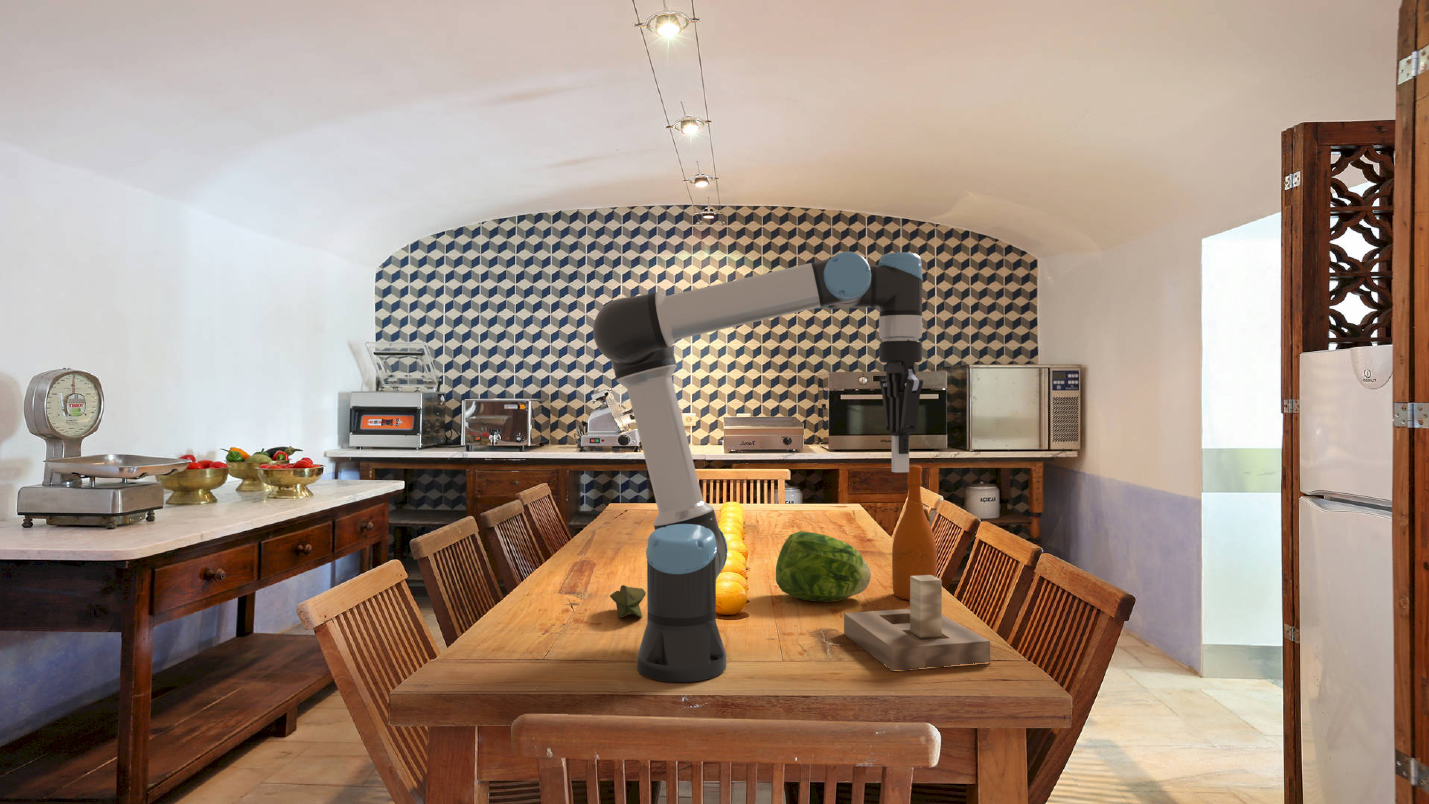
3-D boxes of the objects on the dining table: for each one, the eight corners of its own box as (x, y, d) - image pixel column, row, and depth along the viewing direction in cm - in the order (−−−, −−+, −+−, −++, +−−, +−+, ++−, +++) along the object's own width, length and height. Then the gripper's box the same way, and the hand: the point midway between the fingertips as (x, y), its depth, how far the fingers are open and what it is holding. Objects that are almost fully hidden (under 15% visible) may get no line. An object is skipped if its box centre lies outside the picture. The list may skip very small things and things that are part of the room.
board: (892, 672, 137) (892, 648, 137) (843, 633, 159) (844, 613, 159) (990, 664, 141) (990, 641, 141) (929, 627, 163) (929, 607, 163)
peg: (920, 661, 143) (920, 581, 142) (909, 654, 147) (909, 575, 146) (941, 659, 143) (942, 580, 143) (930, 652, 147) (931, 574, 147)
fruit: (665, 614, 173) (665, 583, 173) (629, 628, 163) (629, 595, 163) (623, 606, 179) (623, 576, 179) (586, 619, 169) (586, 587, 169)
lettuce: (867, 623, 175) (887, 554, 177) (774, 592, 175) (795, 523, 177) (850, 613, 191) (869, 550, 193) (765, 585, 191) (785, 522, 193)
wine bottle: (937, 603, 181) (938, 467, 180) (892, 601, 183) (892, 466, 182) (935, 592, 191) (935, 463, 190) (891, 590, 193) (892, 462, 192)
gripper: (937, 338, 142) (936, 475, 142) (903, 342, 155) (903, 468, 155) (896, 338, 140) (896, 476, 141) (866, 342, 153) (866, 468, 153)
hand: (900, 471), depth 148 cm, fingers closed
